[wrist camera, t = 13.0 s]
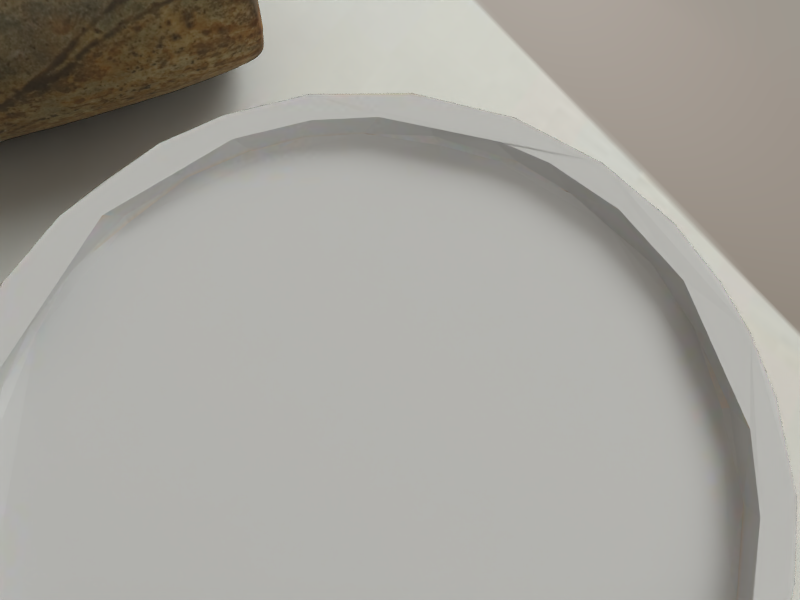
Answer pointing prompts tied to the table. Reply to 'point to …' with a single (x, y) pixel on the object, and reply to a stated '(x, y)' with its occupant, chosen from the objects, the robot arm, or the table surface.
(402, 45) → the table surface
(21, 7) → the brown cylindrical piece
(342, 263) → the disposable coffee cup
